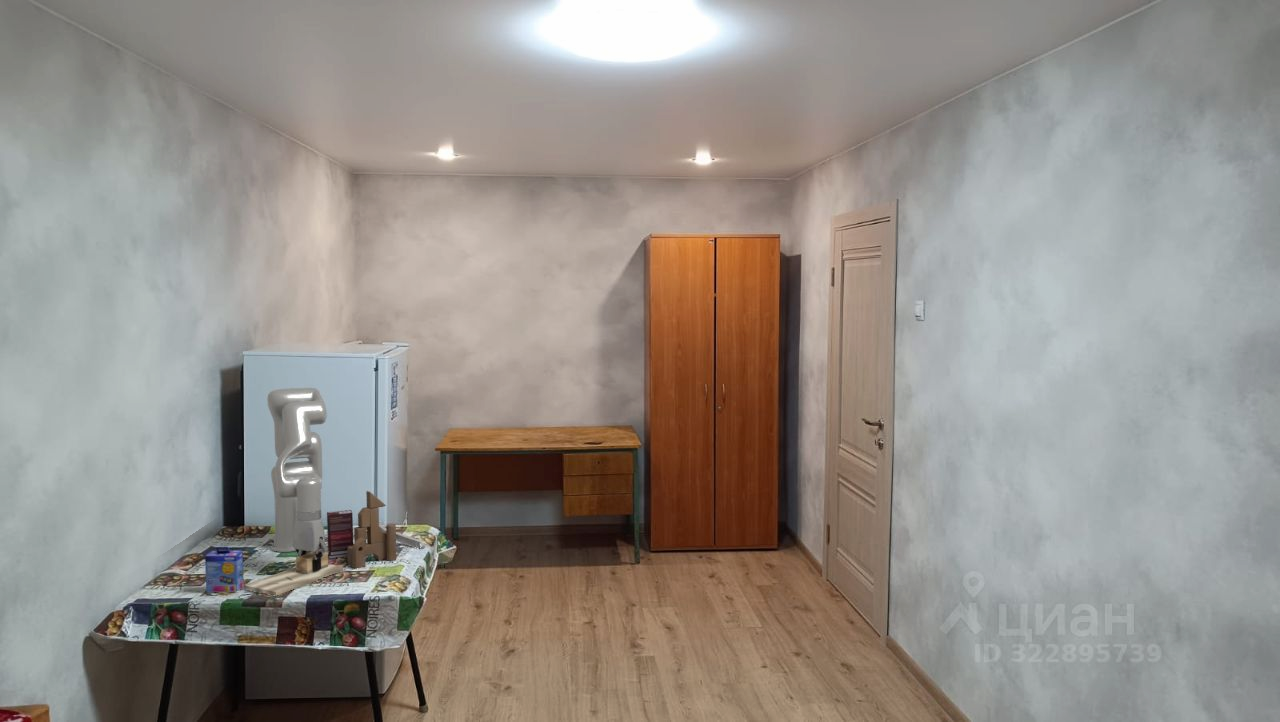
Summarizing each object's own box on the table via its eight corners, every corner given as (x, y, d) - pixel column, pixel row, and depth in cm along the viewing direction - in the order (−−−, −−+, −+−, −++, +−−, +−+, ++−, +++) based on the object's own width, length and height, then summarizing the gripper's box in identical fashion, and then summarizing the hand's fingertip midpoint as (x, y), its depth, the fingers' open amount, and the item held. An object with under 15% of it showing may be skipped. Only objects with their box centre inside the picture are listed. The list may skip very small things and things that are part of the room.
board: (244, 589, 274) (244, 585, 274) (312, 565, 299) (312, 561, 299) (276, 596, 268) (275, 591, 268) (343, 571, 293) (343, 566, 293)
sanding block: (296, 572, 287) (295, 557, 287) (317, 564, 295) (316, 550, 295) (307, 574, 285) (307, 559, 285) (328, 566, 293) (327, 552, 293)
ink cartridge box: (205, 593, 270) (203, 548, 269) (212, 588, 276) (210, 543, 275) (237, 593, 271) (236, 547, 270) (244, 587, 277) (243, 542, 276)
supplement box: (352, 552, 315) (351, 509, 314) (353, 556, 310) (353, 512, 309) (327, 555, 311) (326, 511, 310) (328, 558, 307) (327, 514, 306)
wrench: (421, 557, 319) (362, 536, 333) (424, 556, 321) (366, 535, 335) (422, 536, 318) (364, 516, 332) (426, 535, 320) (368, 515, 334)
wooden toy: (355, 569, 295) (354, 497, 294) (347, 564, 300) (346, 493, 299) (397, 560, 306) (396, 490, 304) (389, 556, 311) (388, 487, 309)
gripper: (281, 515, 288) (282, 568, 290) (319, 521, 281) (321, 576, 282) (299, 510, 295) (300, 562, 296) (337, 515, 288) (338, 569, 289)
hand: (310, 568), depth 289 cm, fingers closed on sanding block, 5 cm apart
